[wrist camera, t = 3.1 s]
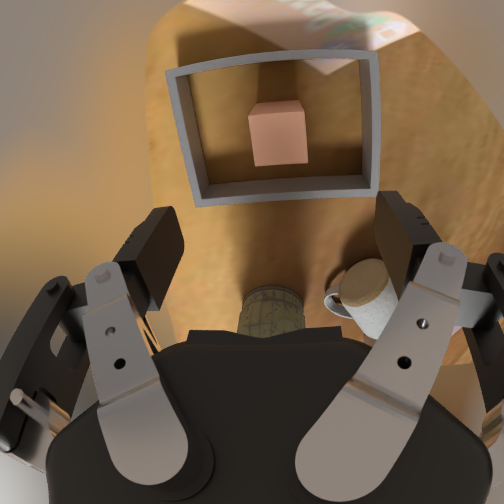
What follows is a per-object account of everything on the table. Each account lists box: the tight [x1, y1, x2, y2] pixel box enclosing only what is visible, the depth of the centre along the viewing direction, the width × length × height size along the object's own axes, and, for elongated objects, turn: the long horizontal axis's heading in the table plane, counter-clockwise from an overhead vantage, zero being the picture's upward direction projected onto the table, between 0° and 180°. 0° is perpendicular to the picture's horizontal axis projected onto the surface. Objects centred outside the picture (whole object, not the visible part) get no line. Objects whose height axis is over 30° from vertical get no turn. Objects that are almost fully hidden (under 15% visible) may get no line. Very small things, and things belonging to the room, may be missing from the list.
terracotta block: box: [248, 100, 308, 166], centre depth 23 cm, size 4×4×7 cm
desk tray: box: [165, 49, 381, 207], centre depth 24 cm, size 18×14×4 cm
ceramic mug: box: [324, 258, 399, 339], centre depth 34 cm, size 11×8×8 cm
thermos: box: [237, 285, 305, 338], centre depth 27 cm, size 9×12×35 cm
